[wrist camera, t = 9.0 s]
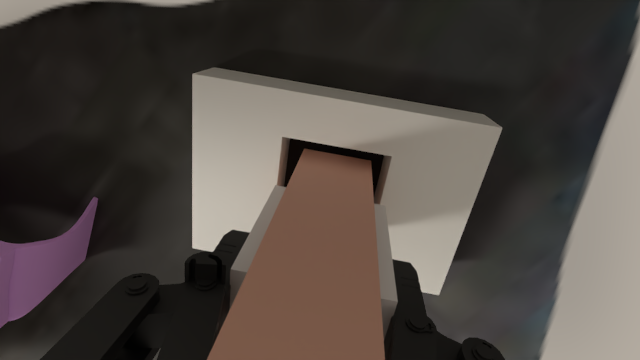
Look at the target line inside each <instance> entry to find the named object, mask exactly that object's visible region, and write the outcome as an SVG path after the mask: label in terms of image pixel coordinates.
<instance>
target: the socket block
mask: <svg viewBox="0 0 640 360" xmlns="http://www.w3.org/2000/svg"><path fill="white" fill-rule="evenodd" d="M501 131H502V127H501V126H499V125H498V124H496V123H495V122H494V121H492V120H491V119H490V118H488V117H487V116H485V115H484V114H480V113H474V112H469V111H463V110H457V109H451V108H446V107H440V106H434V105H428V104H423V103H417V102H411V101H405V100H400V99H394V98H388V97H382V96H377V95H371V94H365V93H359V92H354V91H348V90H342V89H336V88H331V87H325V86H319V85H313V84H308V83H302V82H296V81H290V80H285V79H279V78H273V77H267V76H262V75H256V74H250V73H244V72H239V71H233V70H227V69H221V68H216V67H213V68H210V69H207V70H203V71H200V72H196V73H193V74H192V248H194V249H200V250H205V251H210V252H213V251H214V250H215V248H216V246H217V245H218V244H219V242H220V240H221V239H222V237H223V236H224V235H225V234H227V233H228V232H230V231H231V230H238V231H243V232H248V233H250V232H251V230H252V228H253V226H254V224H255V222H256V220H257V219H258V217H259V215H260V213H261V211H262V209H263V207H264V205H265V204H266V202H267V200H268V198H269V196H270V194H271V192H272V190H273V189H274V187H275V185H277V186H282V187H284V184H285V176H286V168H287V160H288V151H289V143H290V138H292V139H298V140H303V141H309V142H314V143H320V144H325V145H331V146H337V147H342V148H348V149H353V150H359V151H365V152H370V153H376V154H381V155H384V158H383V162H382V167H381V171H380V175H379V179H378V183H377V187H376V191H375V195H374V204H379V205H384V206H385V207H386V215H387V222H388V230H389V238H390V245H391V253H392V259H394V260H399V261H404V262H410V263H411V264H412V266H413V267H414V268H415V270H416V271H417V274H418V278H419V283H420V287H421V288H420V290H421V292H425V293H430V294H435V295H439V294H440V291H441V288H442V286H443V283H444V280H445V278H446V275H447V273H448V270H449V267H450V265H451V262H452V259H453V257H454V254H455V252H456V249H457V246H458V244H459V241H460V239H461V236H462V233H463V231H464V228H465V225H466V223H467V220H468V218H469V215H470V212H471V210H472V207H473V204H474V202H475V199H476V197H477V194H478V191H479V189H480V186H481V183H482V181H483V178H484V176H485V173H486V170H487V168H488V165H489V163H490V160H491V157H492V155H493V152H494V149H495V147H496V144H497V142H498V139H499V136H500V134H501Z"/></svg>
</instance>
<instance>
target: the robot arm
mask: <svg viewBox="0 0 640 360" xmlns="http://www.w3.org/2000/svg"><path fill="white" fill-rule="evenodd" d="M285 189H286V187H282V186H277V185H275V187H274V189H273V190H272V192H271V194H270V196H269V198H268V200H267V202H266V204H265V205H264V207H263V209H262V211H261V213H260V215H259V217H258V219H257V220H256V222H255V224H254V226H253V228H252V230H251V232H250V233H248V232H243V231H238V230H231V231H230V232H228V233H227V234H225V235H224V236H223V237H222V239H221V240H220V242H219V244H218V245H217V246H216V248H215V250H214V251H213V252H200V253H197V254H194V255H192V256H191V257H189V258H188V259H187V260H186V262H185V282H184V283H181V284H171V285H159V280H158V279H157V278H156V277H155V276H153V275H150V274H143V273H140V274H133V275H130V276H128V277H125V278H123V279H122V280H121V281H119V282H118V283H117V284H116V285H115V286H114V287H113V288H112V289H111V290H110V291H109V292H108V293H107V294H106V295H105V296H104V297H103V298H102V299H101V300H100V301H99V302H98V303H97V304H96V305H95V306H94V307H93V308H92V309H91V310H90V311H89V312H88V313H87V314H86V315H85V316H84V317H83V318H82V319H81V320H80V321H79V322H78V323H76V324H75V325H74V326H73V327H72V328H71V329H70V330H69V331H68V332H67V333H66V334H65V335H64V336H63V337H62V338H61V339H60V340H59V341H58V342H57V343H56V344H55V345H54V346H53V347H52V348H51V349H50V350H49V351H48V352H47V353H46V354H45V355H44V356H43V357H42V358H41V359H40V360H152V359H153V358H154V356H155V355H156V353H157V352H158V350H159V349H160V348H161V350H160V352H159V355H158V358H157V360H207V358H208V356H209V354H210V352H211V350H212V347H213V345H214V343H215V341H216V339H217V337H218V334H219V332H220V330H221V328H222V326H223V324H224V321H225V319H226V317H227V315H228V313H229V311H230V308H231V306H232V304H233V302H234V300H235V298H236V295H237V293H238V291H239V289H240V287H241V285H242V282H243V280H244V278H245V276H246V274H247V272H248V269H249V267H250V265H251V263H252V261H253V259H254V256H255V254H256V252H257V250H258V248H259V246H260V243H261V241H262V239H263V237H264V235H265V233H266V230H267V228H268V226H269V224H270V222H271V220H272V217H273V215H274V213H275V211H276V209H277V207H278V204H279V202H280V200H281V198H282V196H283V194H284V191H285ZM374 209H375V224H376V238H377V252H378V266H379V281H380V295H381V309H382V324H383V338H384V352H385V360H505V359H504V357H503V356H502V354H501V353H500V351H499V350H498V349H496V348H495V347H494V346H493V345H492V344H490V343H488V342H487V341H485V340H482V339H479V338H467V339H465V340H464V341H463V343H462V344H460V343H458V342H456V341H454V340H452V339H449V338H447V337H446V336H444V335H442V334H441V333H439V332H438V331H437V330H436V326H435V324H434V323H433V321H432V320H431V319H430V318H429V317H427V314H426V310H425V305H424V301H423V296H422V292H421V290H420V288H421V287H420V283H419V278H418V274H417V271H416V270H415V268H414V267H413V266H412V264H411V263H410V262H404V261H399V260H394V259H392V253H391V245H390V238H389V230H388V222H387V215H386V207H385V206H384V205H379V204H374Z"/></svg>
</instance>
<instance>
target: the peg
mask: <svg viewBox="0 0 640 360" xmlns="http://www.w3.org/2000/svg"><path fill="white" fill-rule="evenodd" d="M207 360H385V352H384V338H383V324H382V309H381V295H380V281H379V266H378V252H377V238H376V224H375V209H374V195H373V181H372V166H371V161H370V160H365V159H359V158H354V157H348V156H343V155H337V154H332V153H326V152H321V151H315V150H310V149H304V150H303V152H302V155H301V157H300V159H299V161H298V163H297V165H296V168H295V170H294V172H293V174H292V176H291V178H290V181H289V183H288V185H287V187H286V189H285V191H284V194H283V196H282V198H281V200H280V202H279V204H278V207H277V209H276V211H275V213H274V215H273V217H272V220H271V222H270V224H269V226H268V228H267V230H266V233H265V235H264V237H263V239H262V241H261V243H260V246H259V248H258V250H257V252H256V254H255V256H254V259H253V261H252V263H251V265H250V267H249V269H248V272H247V274H246V276H245V278H244V280H243V282H242V285H241V287H240V289H239V291H238V293H237V295H236V298H235V300H234V302H233V304H232V306H231V308H230V311H229V313H228V315H227V317H226V319H225V321H224V324H223V326H222V328H221V330H220V332H219V334H218V337H217V339H216V341H215V343H214V345H213V347H212V350H211V352H210V354H209V356H208V358H207Z"/></svg>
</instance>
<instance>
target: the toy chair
mask: <svg viewBox="0 0 640 360" xmlns="http://www.w3.org/2000/svg"><path fill="white" fill-rule="evenodd" d="M97 203H98V198H96V197H93V198H92V200H91V201H90V203H89V205H88V206H87V208H86V210H85V211H84V213H83V214H82V216H81V217H80V218H79V220H78V221H77V222H76V223H75V224H74V225H73V226H72V227H71V229H70V230H69V231H67V232H65V233H64V234H62V235H61V236H58V237H55V238H53V239H48V240H44V241H37V242H31V243H25V244H14V243H7V242H3V241H0V328H1V327H2V326H3V325H5V324H6V323H7V322H8V321H13V320H16V319H19V318H21V317H23V316H24V315H26V314H27V313H28V312H30V311H31V310H32V309H33V308H34V307H36V306H37V305H38V304H39V303H40V302H41V301H42V300H43V299H44V298H45V297H46V296H48V295H49V294H50V293H51V292H52V291H53V290H54V289H55V288H56V287H57V286H58V285H59V284H60V283H61V282H62V281H63V280H64V279H65V278H66V277H67V276H68V275H69V274H70V273H71V272H72V271H74V270H75V269H76V268H77V267H78V266H79V265H80V264H81V263H82V262H83V261H84V260H85V258H86V254H87V249H88V245H89V240H90V235H91V231H92V226H93V222H94V217H95V212H96V208H97Z"/></svg>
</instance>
